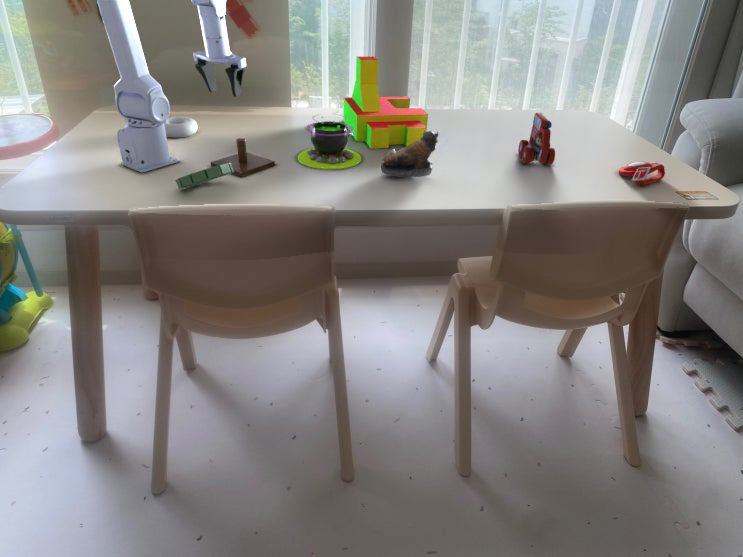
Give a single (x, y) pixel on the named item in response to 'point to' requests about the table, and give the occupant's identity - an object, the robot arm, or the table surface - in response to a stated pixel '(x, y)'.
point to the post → (244, 161)
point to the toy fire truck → (538, 142)
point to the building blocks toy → (380, 111)
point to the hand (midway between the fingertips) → (225, 93)
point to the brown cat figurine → (411, 158)
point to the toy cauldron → (329, 146)
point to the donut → (180, 127)
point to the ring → (204, 175)
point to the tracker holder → (643, 171)
